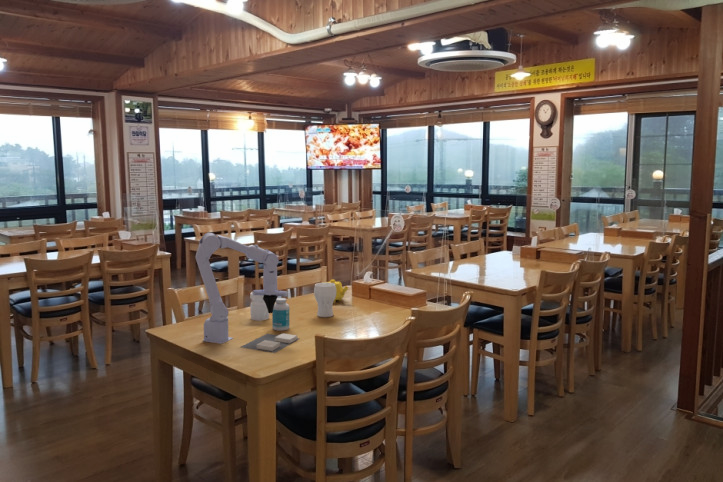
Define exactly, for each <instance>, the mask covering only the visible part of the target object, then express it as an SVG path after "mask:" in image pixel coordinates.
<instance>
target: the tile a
mask: <svg viewBox="0 0 723 482" xmlns="http://www.w3.org/2000/svg"><path fill="white" fill-rule="evenodd" d="M278 347H280V342H273V341H267V340H264V341H262V342H260V343H258V344H257V349H263V350H269V351H273V350H275V349H276V348H278Z"/></svg>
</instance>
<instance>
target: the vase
mask: <svg viewBox="0 0 723 482" xmlns="http://www.w3.org/2000/svg"><path fill="white" fill-rule="evenodd" d="M249 296H250V298H249V299H250V300H251V301H250V306H249V307H250V319H251V321H252V320H253V321H266V320H269V318H270V313H268V309H267V306H266V304H265V302H264V300H263V296H264V295H253V291H251V292H250V295H249Z"/></svg>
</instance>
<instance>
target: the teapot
mask: <svg viewBox="0 0 723 482" xmlns="http://www.w3.org/2000/svg"><path fill="white" fill-rule="evenodd" d="M327 283H334V284H335V286H336V297H335V299H334V301H333V304H335V303H337V302H336V301H339V302H340V301H343V300H342V299H343V298H344V297H345V295H346V292H347V291H348V290H349V287H348V285H345V286H344V287H343V283H342V282H341V281H336V279H330V281H327Z"/></svg>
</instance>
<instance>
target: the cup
mask: <svg viewBox="0 0 723 482" xmlns="http://www.w3.org/2000/svg"><path fill="white" fill-rule="evenodd" d="M327 282H328V281H327ZM327 282H326V281H323V282H318V283H315V284H314V289H313V294H314V298H315V301H316V303H317V312H316V316H318V317H321V318H330V317H333V316H334V311H333V305H334V303H333V301H334V299H335V297H336V286H335V284H334V283H327Z"/></svg>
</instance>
